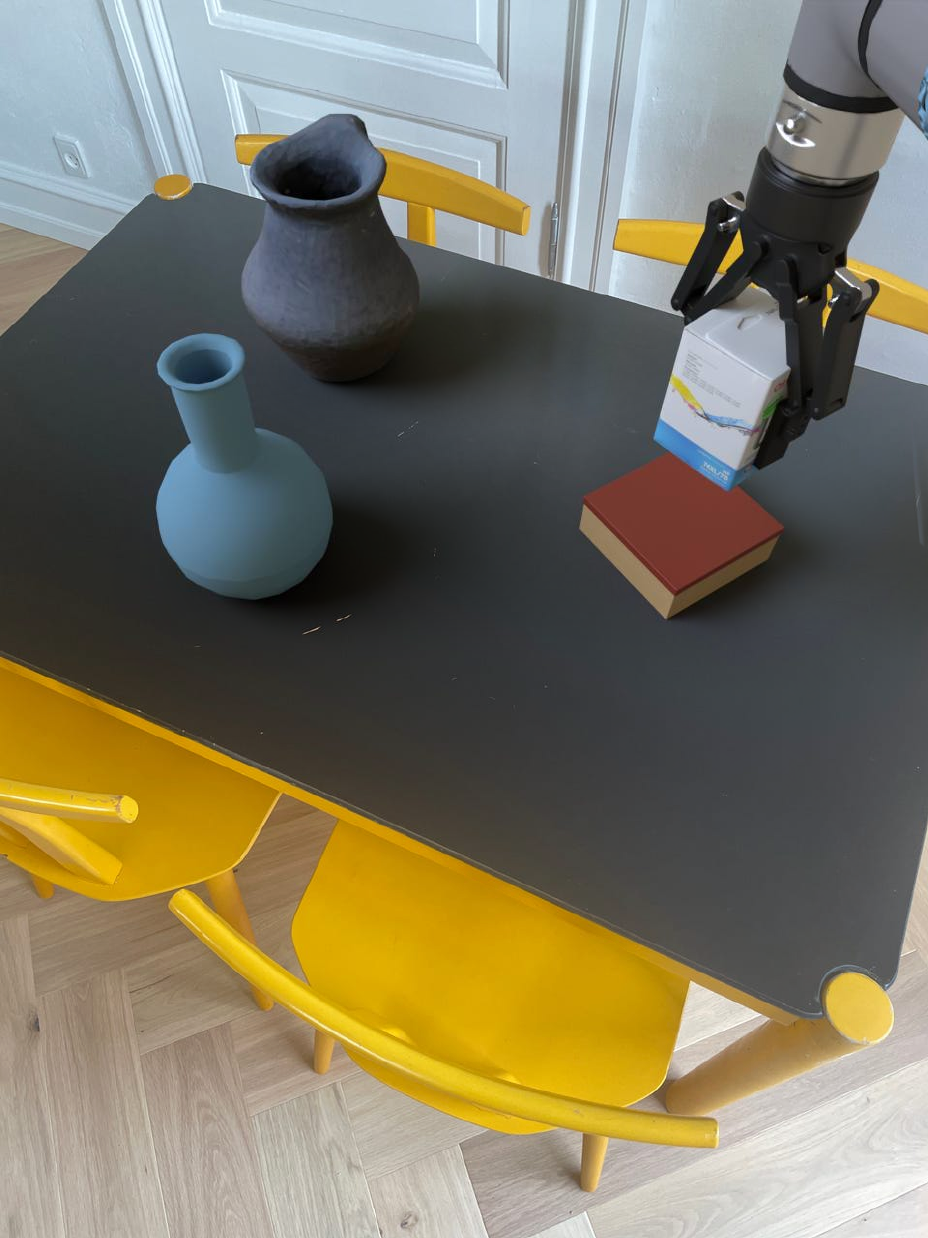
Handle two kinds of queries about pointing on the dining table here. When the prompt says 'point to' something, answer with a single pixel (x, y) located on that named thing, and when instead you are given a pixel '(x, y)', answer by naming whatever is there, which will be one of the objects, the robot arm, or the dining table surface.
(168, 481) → the vase
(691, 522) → the book
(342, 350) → the pitcher
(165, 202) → the dining table surface
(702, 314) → the robot arm
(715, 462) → the ink box
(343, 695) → the dining table surface
